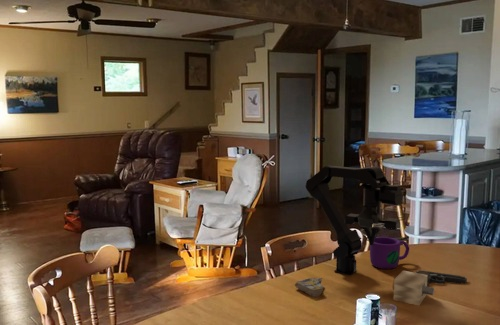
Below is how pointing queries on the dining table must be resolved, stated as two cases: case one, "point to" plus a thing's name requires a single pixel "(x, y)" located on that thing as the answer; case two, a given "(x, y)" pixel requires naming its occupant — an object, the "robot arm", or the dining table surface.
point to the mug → (387, 252)
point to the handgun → (442, 277)
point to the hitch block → (409, 287)
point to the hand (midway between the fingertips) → (371, 244)
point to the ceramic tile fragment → (310, 286)
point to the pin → (423, 289)
